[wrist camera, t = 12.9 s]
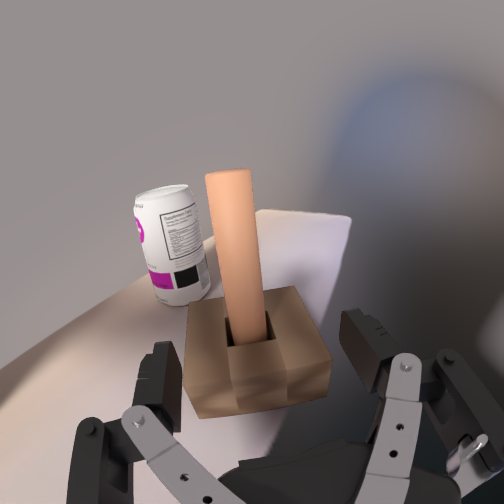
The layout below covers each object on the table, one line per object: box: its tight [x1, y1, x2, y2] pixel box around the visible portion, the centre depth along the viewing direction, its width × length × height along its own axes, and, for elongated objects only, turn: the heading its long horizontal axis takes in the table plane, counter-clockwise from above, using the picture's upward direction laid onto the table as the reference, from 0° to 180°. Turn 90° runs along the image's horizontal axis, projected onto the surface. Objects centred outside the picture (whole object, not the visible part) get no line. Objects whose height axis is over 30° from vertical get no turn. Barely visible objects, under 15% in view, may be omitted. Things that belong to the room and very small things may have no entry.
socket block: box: [183, 286, 333, 419], centre depth 24 cm, size 11×11×5 cm
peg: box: [205, 168, 268, 346], centre depth 21 cm, size 3×3×18 cm
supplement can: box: [133, 185, 211, 306], centre depth 36 cm, size 8×8×15 cm
